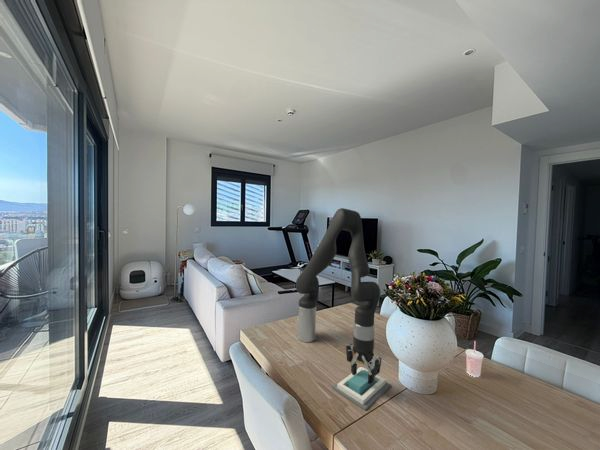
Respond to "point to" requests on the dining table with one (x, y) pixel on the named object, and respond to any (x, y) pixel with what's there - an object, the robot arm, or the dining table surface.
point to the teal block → (360, 382)
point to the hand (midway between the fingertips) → (362, 378)
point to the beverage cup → (474, 361)
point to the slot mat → (366, 397)
